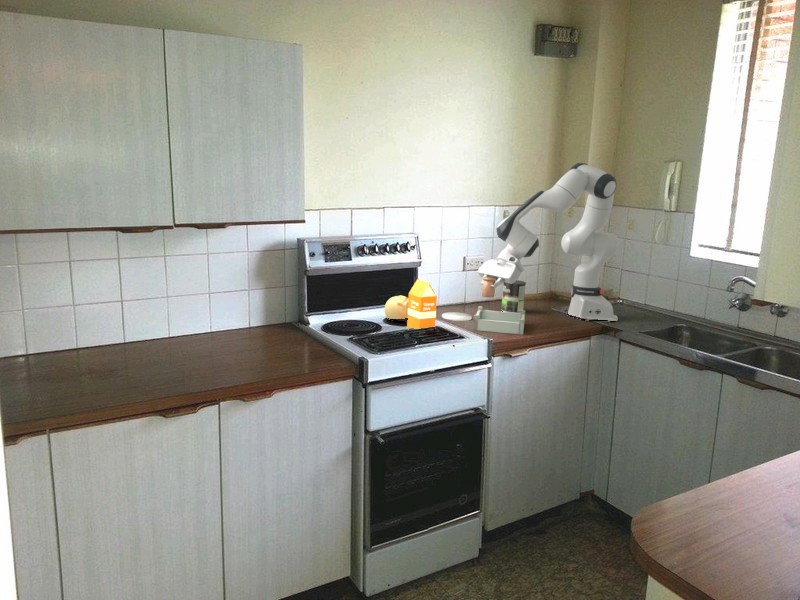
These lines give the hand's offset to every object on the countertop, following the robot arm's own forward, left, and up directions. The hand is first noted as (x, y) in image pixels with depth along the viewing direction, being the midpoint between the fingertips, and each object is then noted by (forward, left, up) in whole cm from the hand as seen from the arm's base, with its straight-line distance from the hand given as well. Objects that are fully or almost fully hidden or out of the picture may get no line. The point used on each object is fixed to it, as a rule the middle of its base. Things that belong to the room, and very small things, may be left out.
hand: (487, 286), depth 282 cm
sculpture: (+36, +7, -17) cm, 40 cm away
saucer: (+13, -8, -16) cm, 22 cm away
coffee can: (-10, -32, -17) cm, 38 cm away
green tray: (-6, +2, -16) cm, 18 cm away
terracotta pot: (0, 0, -4) cm, 4 cm away
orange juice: (+24, +21, -17) cm, 36 cm away
